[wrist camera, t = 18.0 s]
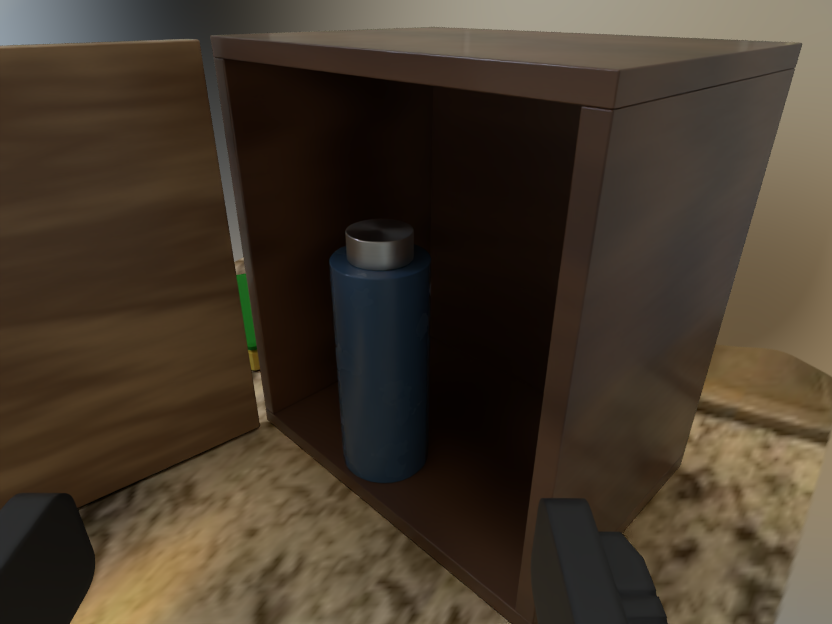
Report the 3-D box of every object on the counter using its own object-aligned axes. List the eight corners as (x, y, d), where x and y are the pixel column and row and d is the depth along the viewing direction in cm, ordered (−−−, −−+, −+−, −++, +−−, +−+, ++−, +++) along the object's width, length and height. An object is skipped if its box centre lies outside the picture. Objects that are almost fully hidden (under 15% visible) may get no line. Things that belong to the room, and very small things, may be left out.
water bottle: (445, 453, 36) (453, 230, 29) (382, 497, 32) (374, 258, 26) (388, 415, 39) (383, 206, 32) (326, 452, 36) (305, 229, 29)
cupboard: (530, 639, 26) (619, 69, 15) (267, 419, 40) (209, 35, 29) (680, 465, 36) (803, 42, 25) (428, 336, 50) (433, 26, 39)
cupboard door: (-172, 531, 31) (-496, 53, 20) (219, 381, 44) (152, 33, 33) (-178, 622, 27) (-602, 69, 16) (260, 426, 39) (199, 39, 28)
